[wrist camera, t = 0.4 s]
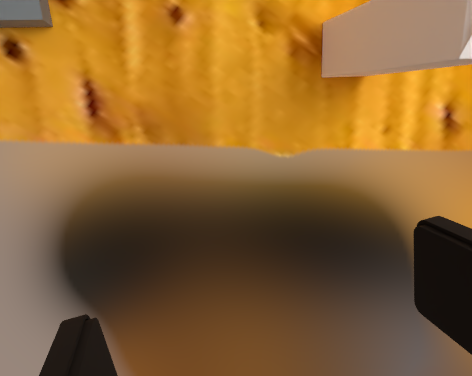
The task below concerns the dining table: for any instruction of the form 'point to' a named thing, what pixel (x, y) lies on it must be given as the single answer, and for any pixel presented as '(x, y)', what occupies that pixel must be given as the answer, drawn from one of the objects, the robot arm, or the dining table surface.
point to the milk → (397, 37)
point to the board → (25, 13)
